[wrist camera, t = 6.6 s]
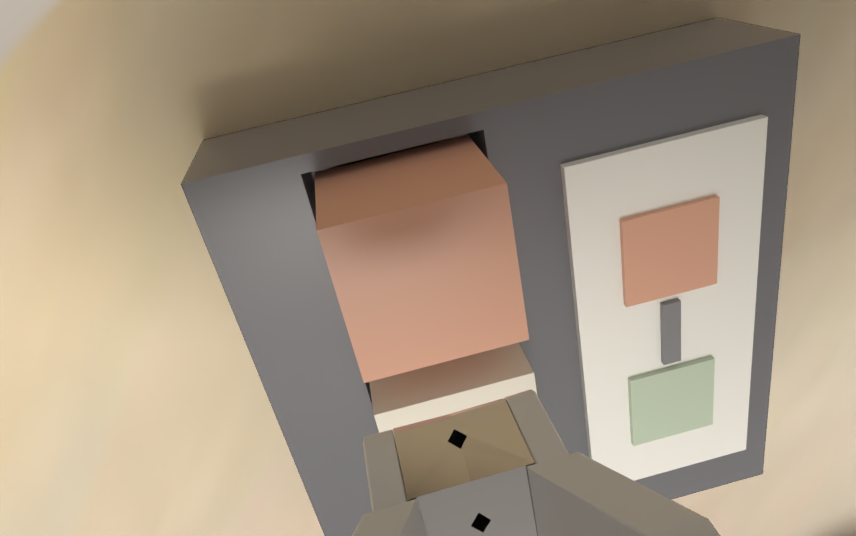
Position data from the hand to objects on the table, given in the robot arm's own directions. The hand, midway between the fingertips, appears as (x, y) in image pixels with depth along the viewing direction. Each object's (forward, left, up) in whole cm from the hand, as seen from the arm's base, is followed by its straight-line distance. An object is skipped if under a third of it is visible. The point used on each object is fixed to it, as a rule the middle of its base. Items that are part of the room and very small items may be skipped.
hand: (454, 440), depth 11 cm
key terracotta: (-1, 0, -9) cm, 9 cm away
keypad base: (-4, +5, -12) cm, 14 cm away
